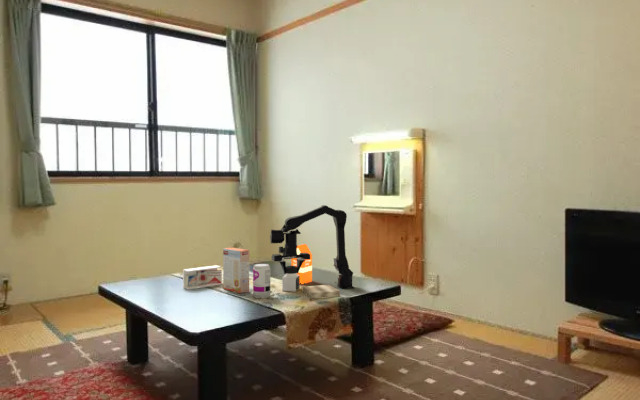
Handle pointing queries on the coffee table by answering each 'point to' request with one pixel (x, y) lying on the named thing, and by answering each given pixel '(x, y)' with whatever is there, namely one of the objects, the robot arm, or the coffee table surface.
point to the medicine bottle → (291, 279)
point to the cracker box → (236, 270)
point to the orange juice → (304, 265)
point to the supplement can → (261, 280)
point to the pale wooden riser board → (320, 291)
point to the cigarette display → (202, 277)
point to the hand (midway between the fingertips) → (291, 273)
